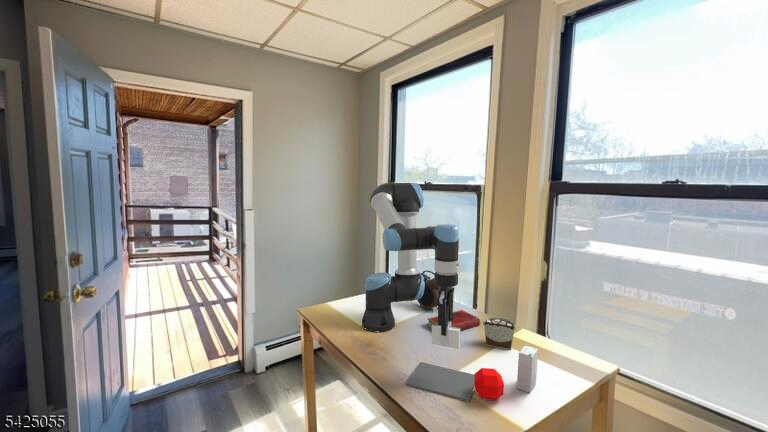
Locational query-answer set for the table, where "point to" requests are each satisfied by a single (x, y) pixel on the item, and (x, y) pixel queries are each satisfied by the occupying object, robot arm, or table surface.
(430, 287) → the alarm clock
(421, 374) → the mat
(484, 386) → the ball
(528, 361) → the skincare box
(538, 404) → the table surface
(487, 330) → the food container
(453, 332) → the tile
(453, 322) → the hardcover book
